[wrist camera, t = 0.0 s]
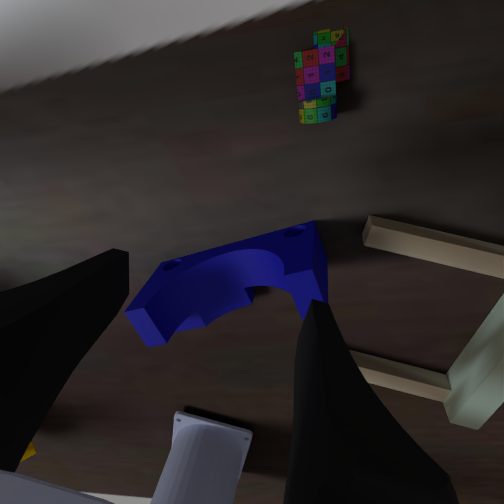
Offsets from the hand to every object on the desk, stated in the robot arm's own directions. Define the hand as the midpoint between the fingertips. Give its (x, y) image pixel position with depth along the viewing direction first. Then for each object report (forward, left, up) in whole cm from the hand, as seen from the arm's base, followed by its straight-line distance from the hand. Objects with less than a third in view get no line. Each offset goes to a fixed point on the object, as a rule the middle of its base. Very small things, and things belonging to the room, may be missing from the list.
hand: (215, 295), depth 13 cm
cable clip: (-6, 0, -11) cm, 12 cm away
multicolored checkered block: (+7, -2, -11) cm, 13 cm away
